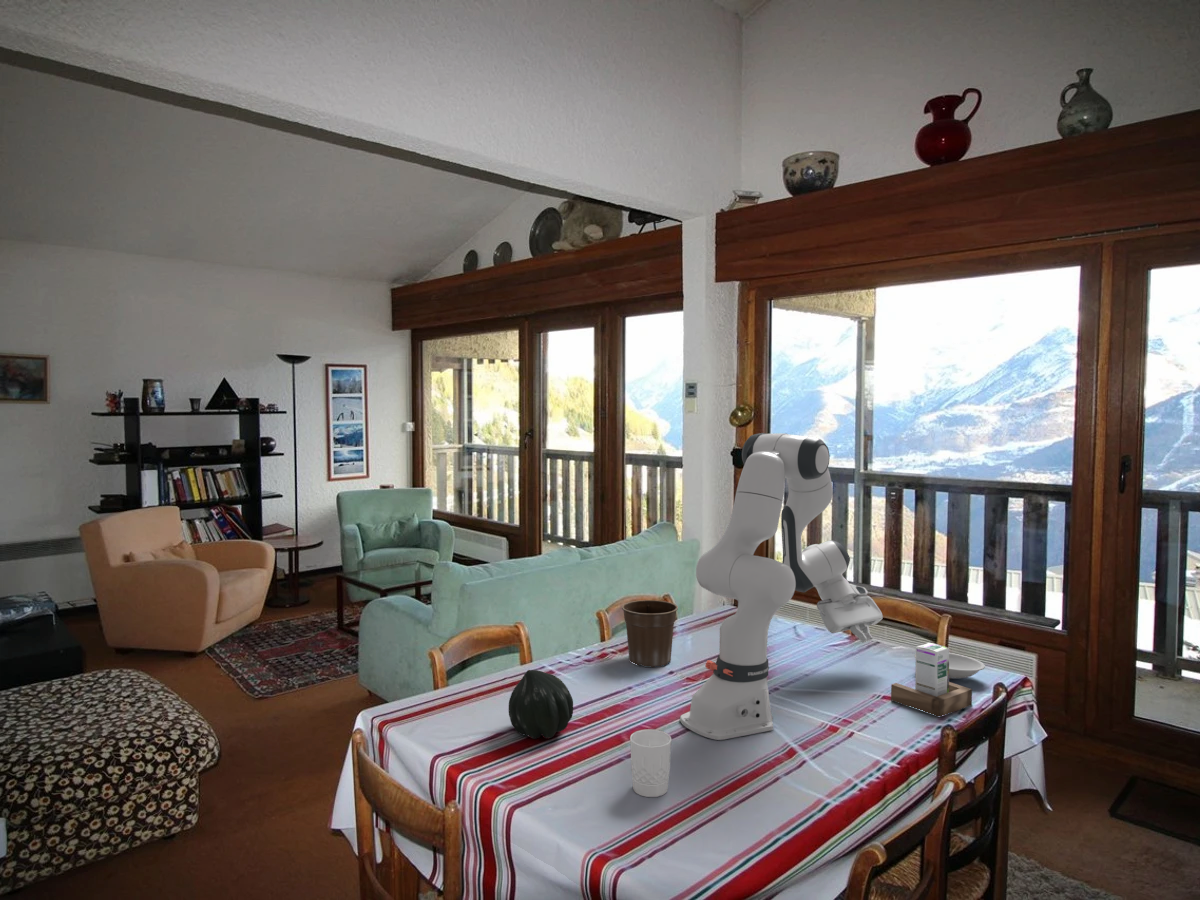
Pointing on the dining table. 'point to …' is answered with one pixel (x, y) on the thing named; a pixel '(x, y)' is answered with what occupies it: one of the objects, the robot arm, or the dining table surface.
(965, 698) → the walnut bay
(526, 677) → the squash
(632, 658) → the plant pot
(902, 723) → the dining table surface
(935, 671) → the syrup box
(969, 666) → the dish
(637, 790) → the white cup
